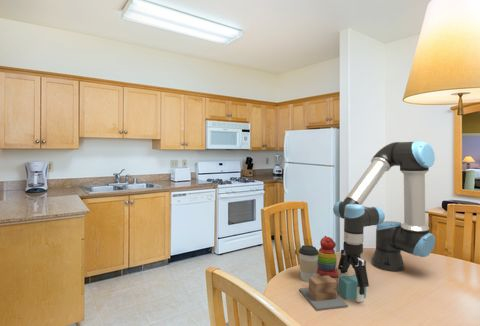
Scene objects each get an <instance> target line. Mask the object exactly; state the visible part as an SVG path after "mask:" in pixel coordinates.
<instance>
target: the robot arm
mask: <svg viewBox="0 0 480 326" xmlns="http://www.w3.org/2000/svg"><path fill="white" fill-rule="evenodd" d="M435 156H436V155H435V151H434V149H433V147H432V145H430V143H428V142H426V141H418V140H417V141H393V142H391V143H389V144H387V145H385V146H383V147H382V148H381V149H379V150H378V151H377V152H376V153H375V154H374V155H373V157H372V158H371V160H370V164H369V166H367V168H366V170H365V171H364V172H363V173H362V174H361V177H360V178H359V179H358V180H357V182H356V183H355V184H354V186H353V187H352V189H351V190H350V191H349V193H347V195H346V197H345V198H344V200H343V201H342V200H341V201H340V200H339V201H337V202H335V203H334V205H333V208H332V209H333V210H332V212H333V213H334V216H336V217H338V218H341V219H343V245H342V246H343V249H340V257H339V262H338V265H337V271H339V272H340V277H341V276H349V274H348V273H349V272H348V269H350V267H351V266H352V267H351V268H353V270H354V275H356V278H357V281H358V285H357V299H356V302H357V303H362V302H364V299H365V298H364V291H365V287H366V288H368V287H370V286H369V285H370V283H369V278H368V272H367V261H366V260H365V259H362V257H361V255H362V254H363V253H364V244H363V243H364V228H365V227H371V226H376V228H375V250H374V253H373V256H372V258H371V265H373V266H374V267H376V268H378V269H380V270H384V271H388V272H401V271H404V269H405V263H404V260H403V256H402V254H401V253H402V252H404V253H407V254H409V255H413V256H416V257H420V258H426V257H428V256H430V255H431V253H432V252H433V251H434V249H435V244H436V236H435V235H434V234H432V233H430V227H429V226H428V225H427V224H426V182H425V181H426V173H428V172H429V169H430V168H431V167H432V166H433V165H434V162H435V160H436V157H435ZM396 166H397V167H399V171H400V172H401V173H402V174H403V214H404V216H403V218H404V220H403V221H404V222H403V223H401V222H399V221H390V220H389V221H387V220H386V221H385V218H386V216H385V212H384V210H383V209H382V208H380V207H379V206H378V207H377V206H372V207H371V206H370V207H368V206H364V205H363V204H364V203H365V201H366V200H367V198H368V197H369V195H370V194H371V192H372V191H373V189H374V188H375V187H376V185H377V184H378V182H379V181H380V180H381V178H382V177H383V176H384V174H385V172H389V171H390V169H391V168H392V167H396Z"/></svg>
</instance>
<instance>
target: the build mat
mask: <svg viewBox="0 0 480 326" xmlns="http://www.w3.org/2000/svg"><path fill="white" fill-rule="evenodd" d="M298 291H299V292H300V294H302V295H303V297H304V298H305V299H306V300H307V301H308V303H310V305H311V306H312V307H313V309H315V311H317V312H318V311H319V312H320V311H327V310H335V309H345V308H349V304H347V303H346V302H345V301H344V299H342V298H341V297H340V296H339V295H337V294H336V299H332V300H323V301H315V300H314V299H313V298H312V297H311V296H310V295H309V287H302V288H298Z"/></svg>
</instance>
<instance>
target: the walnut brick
mask: <svg viewBox="0 0 480 326" xmlns="http://www.w3.org/2000/svg"><path fill="white" fill-rule="evenodd" d="M308 288H309V295H310V296H311V297H312V298H313V299H314V300H315V301H323V300H332V299H336V295H337V288H338V283H337V280H335V279H334V278H331V277H330V276H329V275H328V276H322V275H320V276H319V275H318V276H317V275H316V277H309V282H308Z"/></svg>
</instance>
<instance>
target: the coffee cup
mask: <svg viewBox="0 0 480 326" xmlns="http://www.w3.org/2000/svg"><path fill="white" fill-rule="evenodd" d="M318 251H319V249H317V247H316V246H313V245H301V246H300V248H299V250H298V255H299V257H298V260H299V270H300V279H301V280H302V281H304V282H308V283H309V277H317V268H318V265H317V264H318V254H319V253H318Z"/></svg>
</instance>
